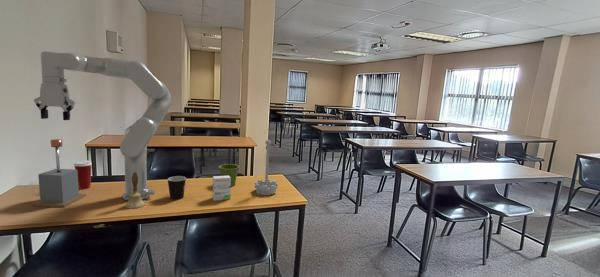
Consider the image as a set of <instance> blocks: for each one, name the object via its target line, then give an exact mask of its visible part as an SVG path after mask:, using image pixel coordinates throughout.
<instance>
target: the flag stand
mask: <svg viewBox="0 0 600 277" xmlns="http://www.w3.org/2000/svg"><path fill="white" fill-rule="evenodd" d="M271 143H272V142H271V140H269V139H267V140H266V141H265V145H266V146H265V149H266V150H265V152H266V154H265V171H264V172H265V175H264V176H265V178H264V180H263V179H258V180H256V181H254V188H255V190H256V191H255V192H256V193H257V194H258V195H262V196H271V194H272V195H275V194H276V192H277V191H276V190H277V189H278V187H279V183H278V182H277V181H276V180H274V179H273V180H272V181H271V179H269V165H270V164H269V162H270V161H269V160H270V158H269V157H270V145H272V144H271ZM274 193H275V194H274Z"/></svg>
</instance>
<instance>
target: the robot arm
mask: <svg viewBox="0 0 600 277" xmlns="http://www.w3.org/2000/svg"><path fill="white" fill-rule="evenodd" d="M40 61H41V62H40V63H41V78H42V79H41V80H42V82H41V84H40V89H39V90H40V91H39V96H38V97H36V98H34V99H33V102H34V104H35V105H36V107H37V108H38V110H39V112H40V119H42V120H46V119H48V118H49V110H48V108H49V107H57V108H58V107H59V108H62V110H63V111H62V118H63V119H62V120H63V121H70V120H71V111H72V110H73V109H74V108H75V105H76V101H75V100H73V99H71V98H70V94H69V93H70V92H69V89H68V85H67V84H65V83H66V82H67V78H65V70H67V71H68V70H69V71H72V72H74V71H75V72H82V73H83V72H84V73H89V74H90V73H91V74H97V75H104V76H106V77H110V78H120V79H129V80H131V81H132V83H134V84H135V85H136V86H137V87H138V88H139V89H140V90H141V92H143V93H144V94H145V95H146V96H147V97H148V98H150V99H151V103H150V104H149V105H148V107H147V108H146V109H145V111H144V113H143V114H142V116H141V117H140V118H138V119H136V121H134V123H133V124H132V126H131V127H130V129H129V130H128V131H127V133H126V135H125V137H124V138H123V140H122V141H121V143H120V145H119V151H120V153H121V154H122V156H124V184H125V192H124V193H122V195H121V198H122V200H124V201H129V197H130V194H132V193H133V183H132V176H133V173H134V172H137V175H138V183H137V193H140V195H141V199H142V200H144V199H145V200H146V199H147V198H149V197H150V196H151V195H153V196H154V195H155V189H150V186H149V185H148V180H147V178H148V175H147V172H148V171H147V155H148V154H147V151H148V146H147V145H148V144H149V143H150V141H151V140H152V138H153V136H154V135H155V134H156V133H157V130H158V129H159V126H160V124H161V123H162V121H163V120H164V118H165V116H166V114H167V113H168V112H169V109H170V106H171V103H172V95H171V92H170V91H169V88H168V87H167V86H166V84H165V83H164V82H162V81H160V80H159V79H157V78H156V77H155V76H154V75H153V74H152V72H150V70H149V69H148V67H147V65H146V64H145V63H143V62H141V61H138V60H128V59H121V58H114V57H94V56H87V55H82V54H77V53H73V52H55V51H49V50H46V51H42V52H41V53H40Z"/></svg>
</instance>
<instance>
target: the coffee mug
mask: <svg viewBox="0 0 600 277" xmlns="http://www.w3.org/2000/svg"><path fill="white" fill-rule="evenodd" d="M186 180H187V177H185V176H182V175H175V176H170V177H168V178H167V186H168V192H169V199H171V200H173V201H175V200H176V201H177V200H181V199H183V198H185V188H186Z"/></svg>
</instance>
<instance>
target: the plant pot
mask: <svg viewBox="0 0 600 277" xmlns="http://www.w3.org/2000/svg"><path fill="white" fill-rule="evenodd" d="M218 168H219V171H220V176H230V178H231V187H233V186H235V185H236V181H237V176H238V171H239V168H240V166H239V164H234V163H233V164H232V163H228V164H227V163H225V164H221V165H219V166H218Z"/></svg>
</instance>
